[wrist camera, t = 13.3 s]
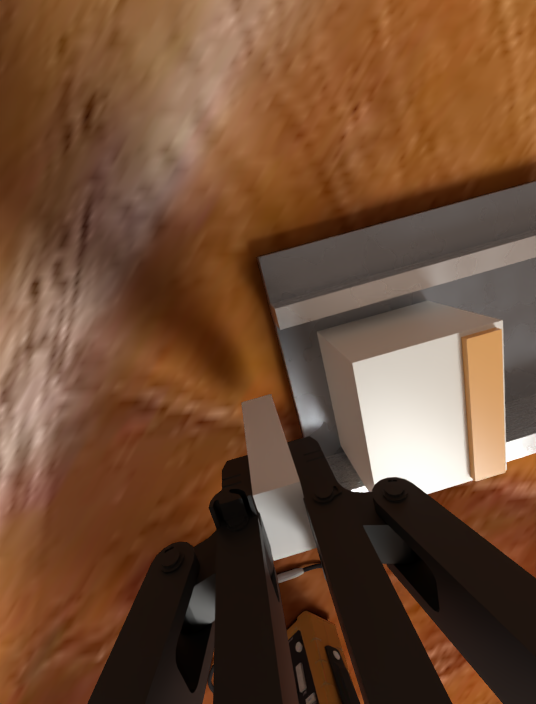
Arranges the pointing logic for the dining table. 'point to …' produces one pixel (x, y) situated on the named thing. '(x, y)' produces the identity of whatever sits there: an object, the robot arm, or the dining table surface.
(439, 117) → the dining table surface
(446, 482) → the block
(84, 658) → the dining table surface
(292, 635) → the multimeter
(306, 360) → the rail base
